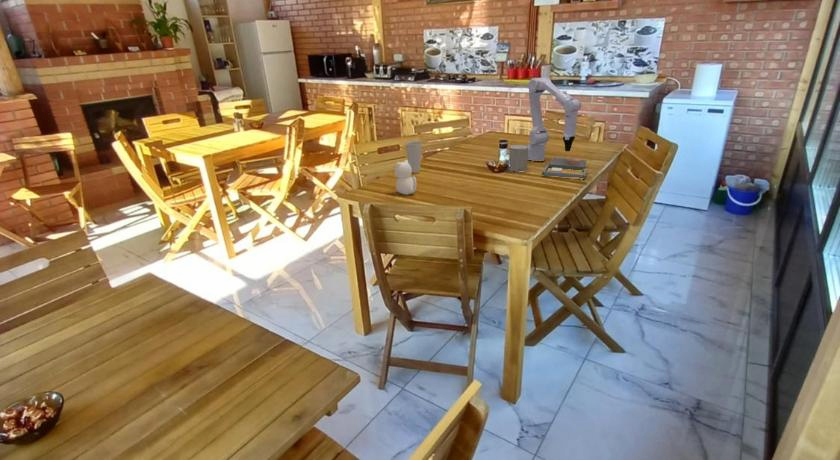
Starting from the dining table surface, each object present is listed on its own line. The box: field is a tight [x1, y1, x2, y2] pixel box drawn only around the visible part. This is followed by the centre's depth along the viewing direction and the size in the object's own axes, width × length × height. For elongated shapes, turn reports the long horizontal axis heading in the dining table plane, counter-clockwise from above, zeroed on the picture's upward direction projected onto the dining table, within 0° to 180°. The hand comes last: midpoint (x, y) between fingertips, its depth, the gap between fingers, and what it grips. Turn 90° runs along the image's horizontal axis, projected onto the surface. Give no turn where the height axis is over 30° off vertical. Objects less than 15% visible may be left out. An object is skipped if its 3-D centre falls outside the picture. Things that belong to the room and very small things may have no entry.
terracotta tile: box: [569, 157, 581, 165], centre depth 234 cm, size 5×5×2 cm
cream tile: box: [551, 168, 563, 173], centre depth 227 cm, size 5×5×2 cm
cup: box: [405, 140, 422, 174], centre depth 236 cm, size 8×8×16 cm
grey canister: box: [508, 144, 528, 173], centre depth 234 cm, size 10×10×12 cm
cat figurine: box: [394, 159, 418, 196], centre depth 205 cm, size 9×12×15 cm
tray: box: [541, 164, 588, 178], centre depth 226 cm, size 20×13×2 cm, turn 66°
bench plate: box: [548, 157, 587, 170], centre depth 237 cm, size 17×14×3 cm
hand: (567, 150), depth 232 cm, fingers closed
